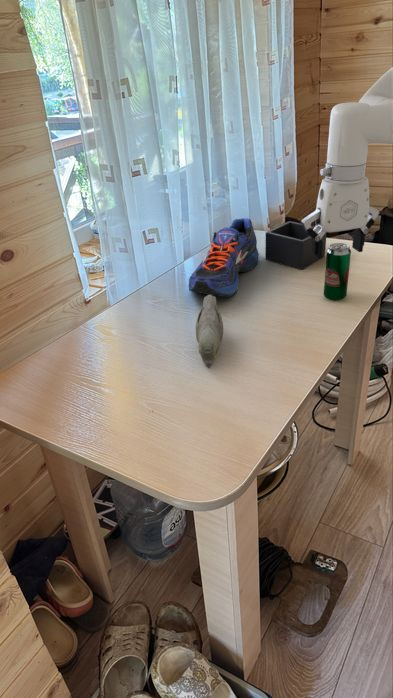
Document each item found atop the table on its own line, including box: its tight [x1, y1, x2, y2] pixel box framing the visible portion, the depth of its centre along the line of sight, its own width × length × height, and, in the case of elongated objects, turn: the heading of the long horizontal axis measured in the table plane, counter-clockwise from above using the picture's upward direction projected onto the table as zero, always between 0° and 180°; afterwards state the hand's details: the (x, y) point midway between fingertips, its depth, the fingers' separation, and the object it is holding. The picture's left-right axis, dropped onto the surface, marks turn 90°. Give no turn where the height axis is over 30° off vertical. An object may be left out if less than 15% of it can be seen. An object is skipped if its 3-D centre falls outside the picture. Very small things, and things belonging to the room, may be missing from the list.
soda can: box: [323, 242, 352, 302], centre depth 113 cm, size 5×5×12 cm
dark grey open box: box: [265, 220, 328, 271], centre depth 134 cm, size 12×11×8 cm
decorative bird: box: [195, 294, 224, 369], centre depth 100 cm, size 5×16×7 cm, turn 176°
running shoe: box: [188, 217, 260, 298], centre depth 125 cm, size 12×32×13 cm, turn 159°
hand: (337, 253), depth 111 cm, fingers open, 9 cm apart
